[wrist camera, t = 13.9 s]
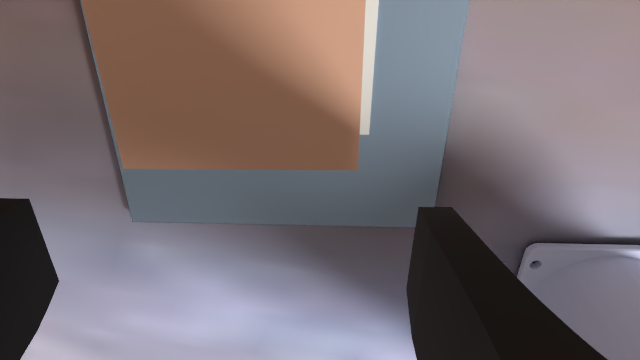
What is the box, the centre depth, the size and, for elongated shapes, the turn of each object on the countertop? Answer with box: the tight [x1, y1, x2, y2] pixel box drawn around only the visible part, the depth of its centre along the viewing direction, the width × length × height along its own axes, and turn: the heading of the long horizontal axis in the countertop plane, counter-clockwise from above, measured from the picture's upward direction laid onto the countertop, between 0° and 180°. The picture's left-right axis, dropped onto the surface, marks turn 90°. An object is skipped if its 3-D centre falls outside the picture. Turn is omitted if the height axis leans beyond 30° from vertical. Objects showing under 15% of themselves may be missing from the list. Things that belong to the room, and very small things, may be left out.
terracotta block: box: [81, 0, 366, 170], centre depth 11 cm, size 5×5×4 cm
